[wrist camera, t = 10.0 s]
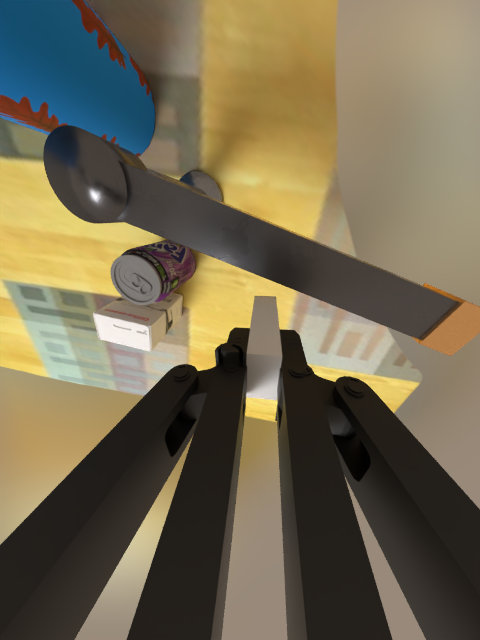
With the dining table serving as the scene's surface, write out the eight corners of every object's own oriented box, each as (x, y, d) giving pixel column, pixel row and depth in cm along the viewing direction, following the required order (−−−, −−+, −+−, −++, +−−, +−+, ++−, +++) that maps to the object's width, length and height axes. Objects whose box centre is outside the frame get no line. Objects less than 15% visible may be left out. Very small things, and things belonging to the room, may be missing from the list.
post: (170, 179, 28) (63, 139, 13) (216, 166, 26) (152, 107, 12) (185, 231, 31) (111, 245, 16) (227, 223, 29) (186, 230, 15)
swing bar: (97, 208, 15) (50, 206, 12) (95, 136, 13) (36, 109, 9) (412, 334, 16) (447, 364, 13) (459, 289, 14) (514, 310, 11)
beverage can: (205, 261, 33) (175, 283, 22) (181, 288, 36) (145, 318, 25) (172, 228, 31) (123, 235, 20) (150, 260, 34) (97, 280, 23)
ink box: (142, 307, 39) (96, 340, 29) (140, 284, 36) (89, 311, 26) (182, 316, 39) (151, 353, 28) (183, 294, 36) (149, 325, 26)
